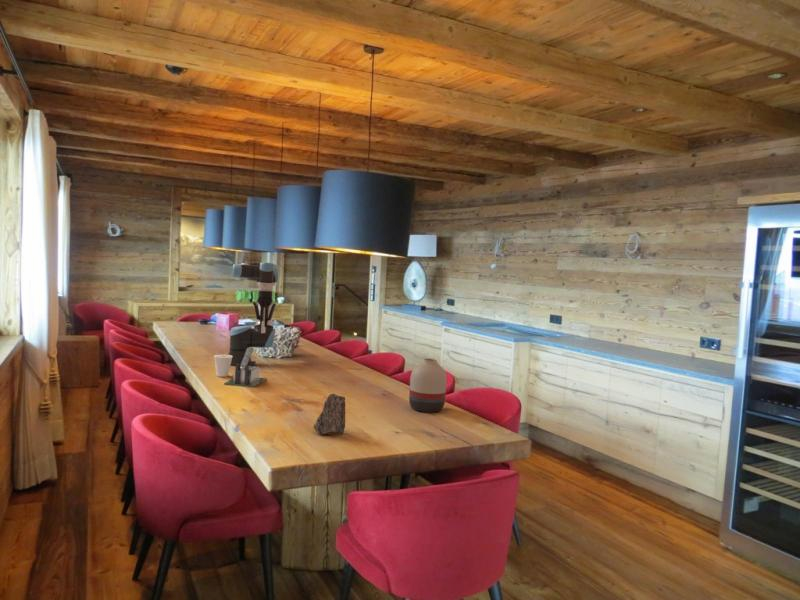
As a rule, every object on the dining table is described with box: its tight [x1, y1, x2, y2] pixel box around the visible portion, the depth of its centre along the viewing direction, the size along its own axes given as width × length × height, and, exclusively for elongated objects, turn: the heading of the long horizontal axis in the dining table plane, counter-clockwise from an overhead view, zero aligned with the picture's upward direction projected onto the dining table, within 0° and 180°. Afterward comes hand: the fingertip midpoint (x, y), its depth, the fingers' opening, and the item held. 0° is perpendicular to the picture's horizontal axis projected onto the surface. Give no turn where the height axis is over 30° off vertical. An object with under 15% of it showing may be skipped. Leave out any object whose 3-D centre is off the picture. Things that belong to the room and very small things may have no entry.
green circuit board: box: [223, 360, 268, 388], centre depth 301 cm, size 20×16×10 cm
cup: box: [213, 354, 233, 378], centre depth 312 cm, size 10×10×11 cm
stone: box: [313, 393, 346, 436], centre depth 221 cm, size 13×13×15 cm
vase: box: [408, 358, 448, 413], centre depth 268 cm, size 17×17×24 cm
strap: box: [239, 347, 254, 370], centre depth 299 cm, size 15×3×1 cm
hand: (263, 332), depth 317 cm, fingers closed
